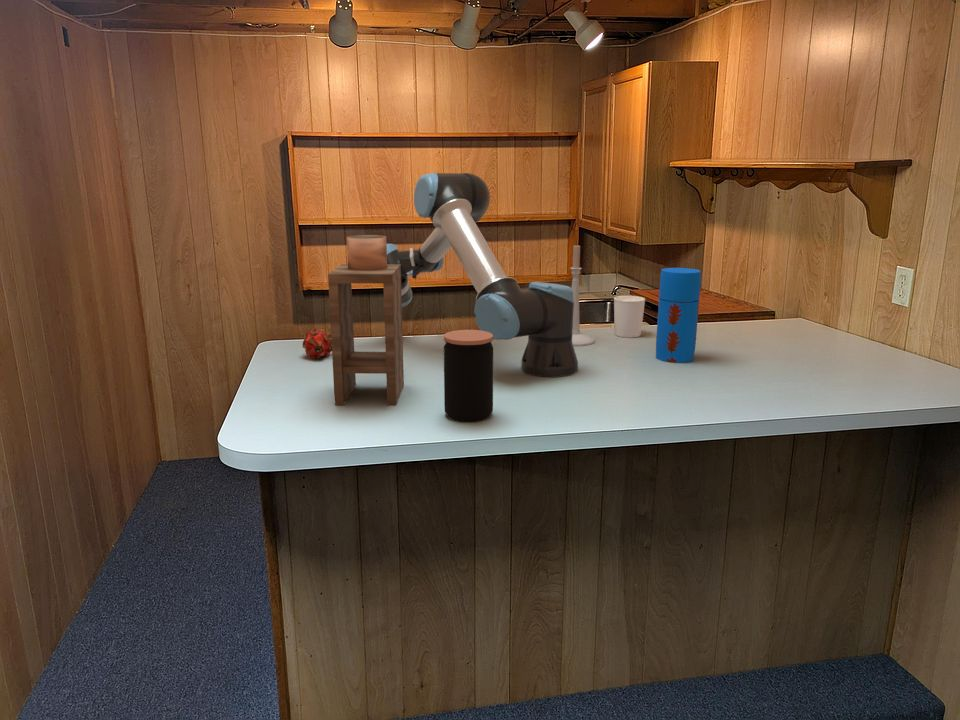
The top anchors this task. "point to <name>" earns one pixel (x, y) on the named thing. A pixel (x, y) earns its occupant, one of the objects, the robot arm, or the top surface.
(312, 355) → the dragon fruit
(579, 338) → the candlestick
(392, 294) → the potting stand
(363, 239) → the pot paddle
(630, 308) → the white cup
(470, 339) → the coffee jar
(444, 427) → the top surface
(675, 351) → the thermos
